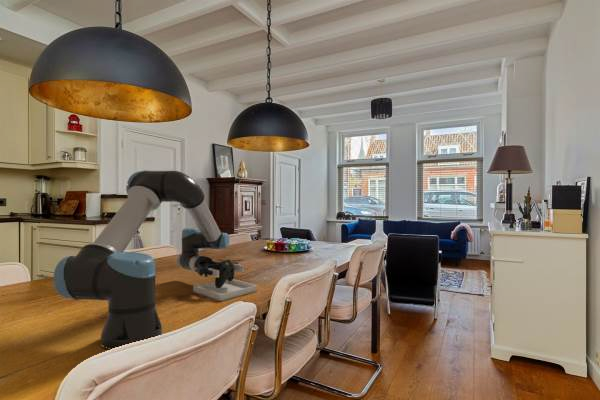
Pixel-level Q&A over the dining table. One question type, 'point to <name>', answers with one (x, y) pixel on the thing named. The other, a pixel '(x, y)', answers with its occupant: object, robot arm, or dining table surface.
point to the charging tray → (225, 289)
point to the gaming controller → (224, 273)
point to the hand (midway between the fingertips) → (231, 271)
